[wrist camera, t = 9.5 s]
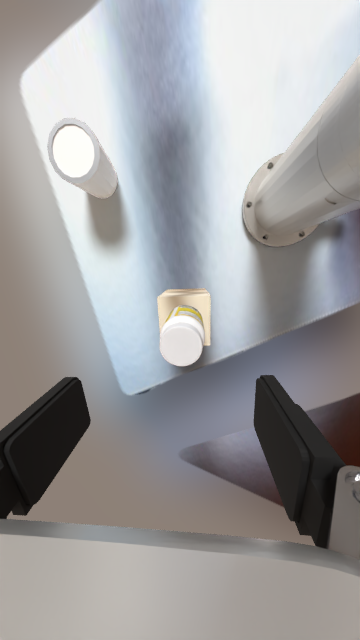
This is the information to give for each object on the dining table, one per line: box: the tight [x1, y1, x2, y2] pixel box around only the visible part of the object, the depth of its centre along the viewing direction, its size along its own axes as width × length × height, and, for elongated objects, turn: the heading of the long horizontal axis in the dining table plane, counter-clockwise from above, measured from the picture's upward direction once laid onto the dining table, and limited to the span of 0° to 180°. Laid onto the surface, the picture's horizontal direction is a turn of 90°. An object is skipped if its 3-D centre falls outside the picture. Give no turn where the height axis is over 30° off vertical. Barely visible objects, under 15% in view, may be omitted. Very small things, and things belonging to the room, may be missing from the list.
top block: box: [157, 291, 210, 346], centre depth 27 cm, size 7×7×5 cm
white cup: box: [47, 118, 118, 198], centre depth 26 cm, size 7×7×7 cm
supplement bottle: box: [159, 305, 205, 366], centre depth 20 cm, size 5×5×8 cm
